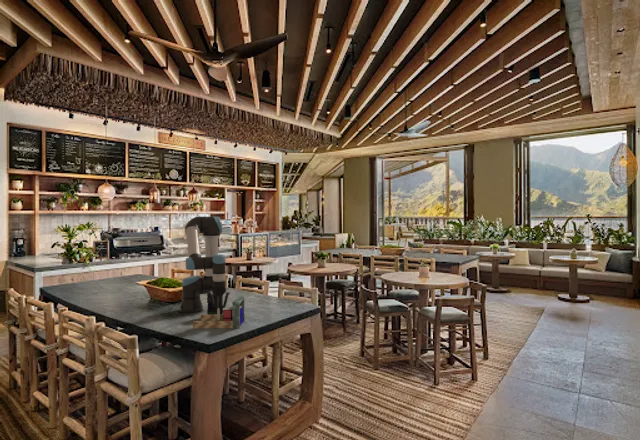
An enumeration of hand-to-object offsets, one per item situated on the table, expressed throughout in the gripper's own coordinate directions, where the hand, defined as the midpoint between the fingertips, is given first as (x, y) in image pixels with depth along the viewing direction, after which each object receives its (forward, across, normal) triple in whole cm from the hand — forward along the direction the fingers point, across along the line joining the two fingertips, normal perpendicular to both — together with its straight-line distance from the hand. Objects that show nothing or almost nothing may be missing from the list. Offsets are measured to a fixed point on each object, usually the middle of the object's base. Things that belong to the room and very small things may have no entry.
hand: (219, 319), depth 229 cm
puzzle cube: (+3, +8, +1) cm, 9 cm away
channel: (+3, 0, 0) cm, 3 cm away
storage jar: (+3, -7, +18) cm, 19 cm away
